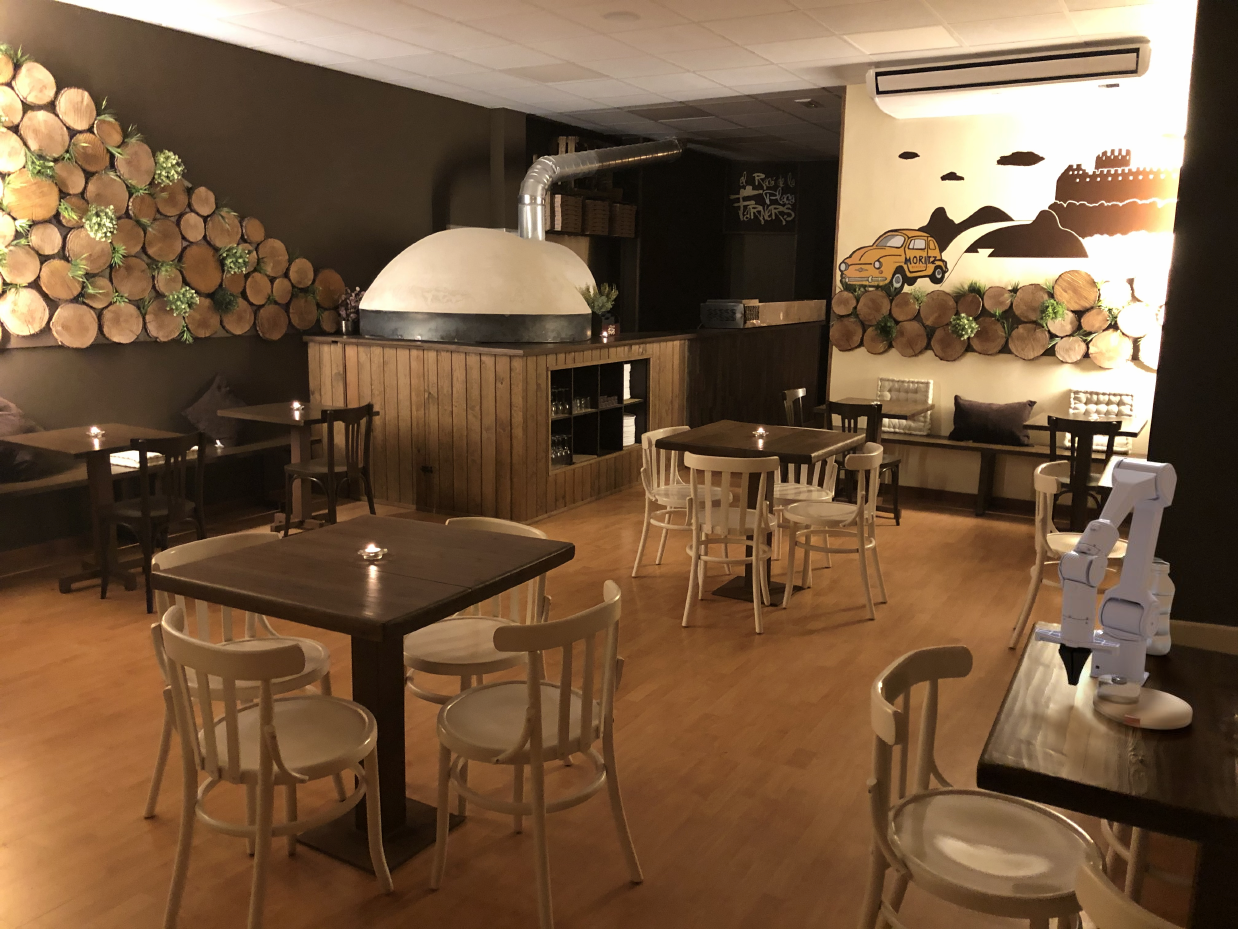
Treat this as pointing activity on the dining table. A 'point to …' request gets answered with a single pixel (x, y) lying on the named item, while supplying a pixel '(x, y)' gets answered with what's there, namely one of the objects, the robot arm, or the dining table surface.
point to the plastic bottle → (1161, 607)
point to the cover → (1118, 689)
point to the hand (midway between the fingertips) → (1073, 683)
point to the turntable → (1148, 710)
